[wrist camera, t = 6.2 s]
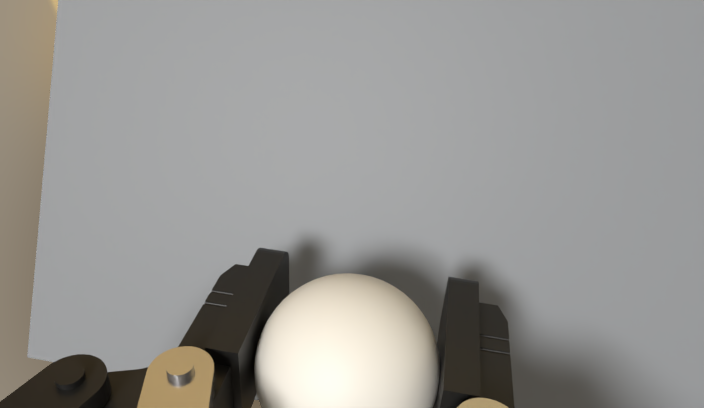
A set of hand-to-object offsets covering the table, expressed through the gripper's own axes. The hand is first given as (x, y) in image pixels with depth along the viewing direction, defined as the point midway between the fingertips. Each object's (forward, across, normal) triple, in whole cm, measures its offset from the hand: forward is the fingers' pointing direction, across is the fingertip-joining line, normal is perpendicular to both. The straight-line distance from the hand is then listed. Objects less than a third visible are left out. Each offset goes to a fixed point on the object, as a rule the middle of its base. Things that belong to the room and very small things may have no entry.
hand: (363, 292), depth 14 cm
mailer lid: (+5, 0, -3) cm, 6 cm away
